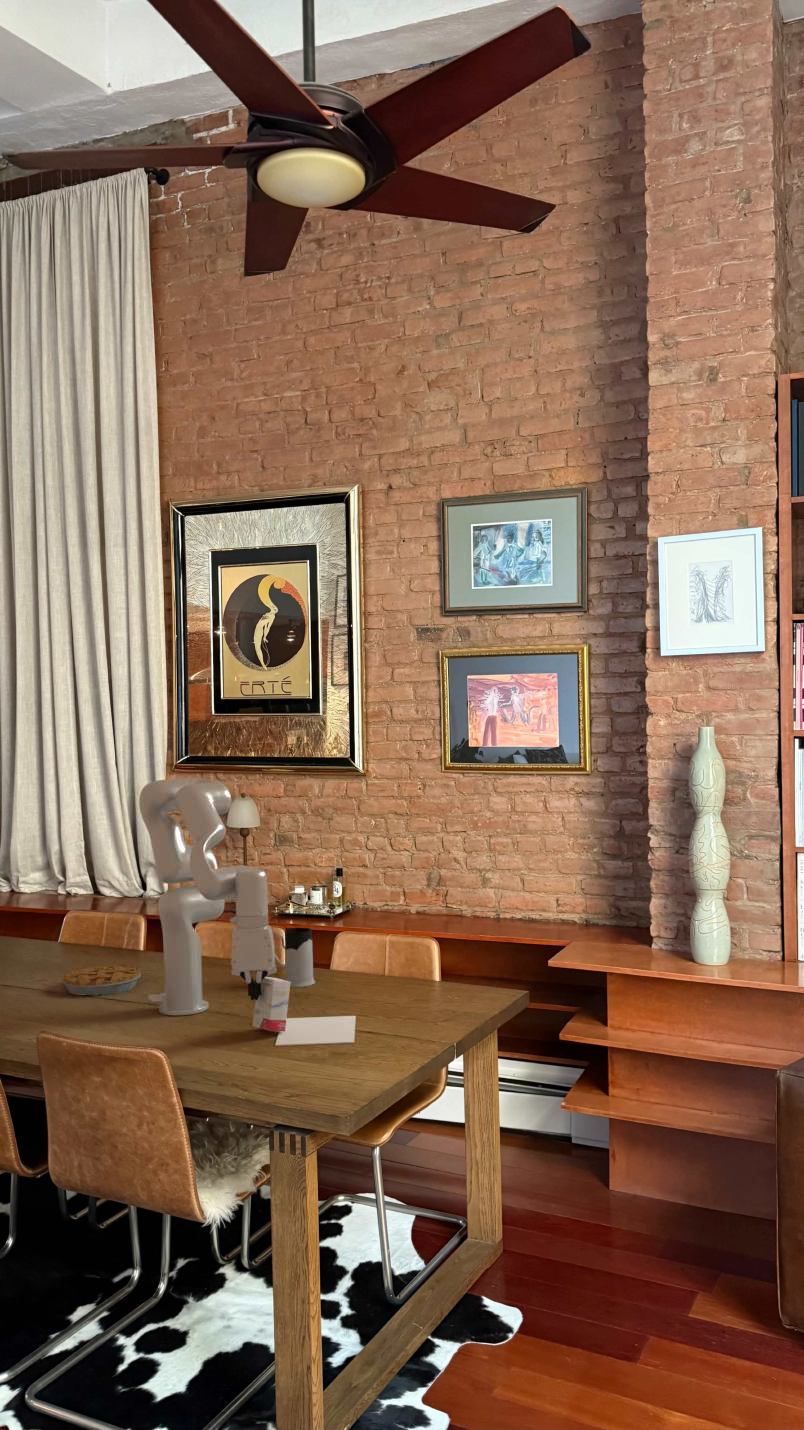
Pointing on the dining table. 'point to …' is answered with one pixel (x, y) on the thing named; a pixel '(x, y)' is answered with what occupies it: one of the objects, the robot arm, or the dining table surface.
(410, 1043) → the dining table surface
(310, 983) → the tall grey black mug
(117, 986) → the pie
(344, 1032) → the mat
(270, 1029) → the ink box
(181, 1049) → the dining table surface
